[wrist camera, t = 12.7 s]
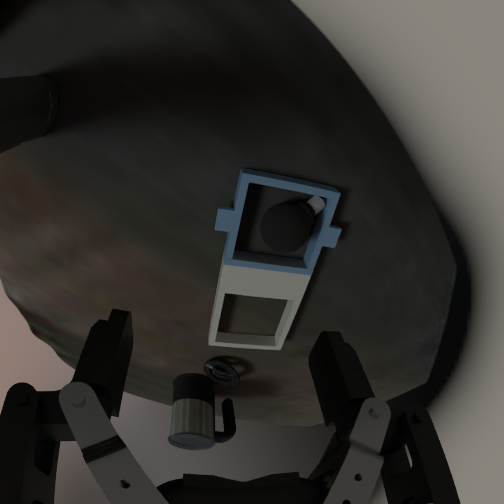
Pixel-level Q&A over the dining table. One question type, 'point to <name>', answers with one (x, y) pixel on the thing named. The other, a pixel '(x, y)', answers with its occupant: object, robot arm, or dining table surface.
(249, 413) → the dining table surface
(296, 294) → the two-tone divided frame
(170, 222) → the dining table surface
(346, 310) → the dining table surface
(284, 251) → the light bulb
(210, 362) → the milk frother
